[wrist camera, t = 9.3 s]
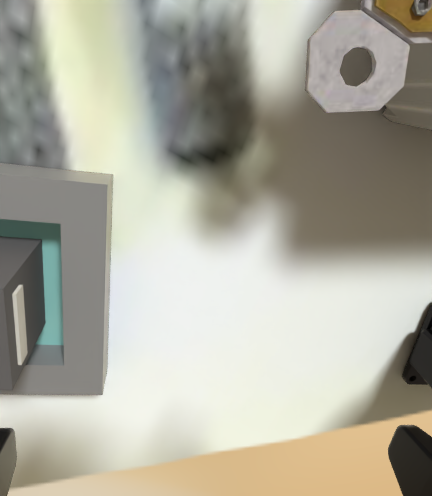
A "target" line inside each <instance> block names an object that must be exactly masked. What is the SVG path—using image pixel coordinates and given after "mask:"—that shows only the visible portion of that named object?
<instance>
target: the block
mask: <svg viewBox="0 0 432 496" xmlns="http://www.w3.org/2000/svg"><path fill="white" fill-rule="evenodd" d="M45 324H46V320H45V297H44V275H43V252H42V239H31V238H18V237H4V236H0V391H13V389H14V387H15V385H16V383H17V380H18V378H19V376H20V374H21V372H22V370H23V368H24V366H25V364H26V362H27V360H28V358H29V356H30V354H31V352H32V350H33V348H34V346H35V344H36V342H37V340H38V338H39V336H40V334H41V332H42V330H43V328H44V326H45Z"/></svg>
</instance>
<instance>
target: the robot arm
mask: <svg viewBox="0 0 432 496" xmlns="http://www.w3.org/2000/svg"><path fill="white" fill-rule="evenodd" d="M402 377H403V379H404V380H405V382H406V383H408V384H426V385H429V386H430V387H431V388H432V305H431V306H430V309H429V311H428V314H427V316H426V319H425V321H424V324H423V326H422V328H421V331H420V333H419V336H418V338H417V341H416V343H415V346H414V348H413V350H412V353H411V355H410V358H409V360H408V363H407V365H406V367H405V370H404V372H403V375H402ZM388 455H389V459H390V462H391V465H392V467H393V470H394V473H395V475H396V478H397V481H398V483H399V486H400V488H401V491H402V494H403V496H432V437H431V436H430V435H428V434H427V433H426V432H424V431H423V430H421V429H420V428H419V427H417V426H414V425H400V426H398V427H397V429H396V431H395V433H394V436H393V438H392V441H391V443H390V445H389V448H388ZM16 460H17V452H16V441H15V432H14V430H13V429H12V428H0V496H7V494H8V491H9V487H10V484H11V480H12V477H13V473H14V470H15V466H16Z"/></svg>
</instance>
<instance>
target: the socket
mask: <svg viewBox="0 0 432 496" xmlns="http://www.w3.org/2000/svg"><path fill="white" fill-rule="evenodd" d="M112 194H113V175H112V174H102V173H92V172H83V171H73V170H63V169H54V168H44V167H34V166H25V165H15V164H5V163H0V236H4V237H18V238H31V239H42V252H43V275H44V297H45V320H46V324H45V326H44V328H43V330H42V332H41V334H40V336H39V338H38V340H37V342H36V344H35V346H34V348H33V350H32V352H31V354H30V356H29V358H28V360H27V362H26V364H25V366H24V368H23V370H22V372H21V374H20V376H19V378H18V380H17V383H16V385H15V387H14V389H13V391H0V394H44V395H102V394H103V389H104V384H105V379H106V374H107V361H108V328H109V294H110V261H111V227H112Z"/></svg>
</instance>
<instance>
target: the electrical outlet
mask: <svg viewBox="0 0 432 496" xmlns="http://www.w3.org/2000/svg"><path fill="white" fill-rule="evenodd" d="M356 47H359V48H362V49H366V50H367V51H368V53H369V55H370V57H371V58H372V71H371V73H370V74H369V76H368V78H367V79H366V81H365V82H363V83H361V84H360V85H358V86H357V87H355V86H350V85H346V84H345V82H344V80H343V78H342V76H341V74H340V72H339V71H340V68H341V64H342V60H343V57H344V55H345V54H346V53H348V52H349V51H350V50H351V49H352V48H356ZM305 91H306V92H307V93H308V94H309V95H310V96H311V97H312V98H313V100H314V101H315V102H316V103H317V104H318V105H319V106H320V107H321V109H322V110H323V111H324V112H327V113H332V112H355V111H378V110H380V109H381V108H382V107H383V106H384V105H385V106H386V107H387V108H386V110H385V111H384V112H383V115H384V116H385V117H386V118H387V119H388V120H390V121H391V122H395V123H400V124H405V125H410V126H414V127H419V128H424V129H429V130H432V0H361V8H360V10H344V11H334V12H332V13H331V15H330V16H329V17H328V18H327V19H326V20H325V21H324V22H323V24H322V25H321V26H320V27H319V28H318V29H317V30H316V31H315V33H314V34H313V35H312V36H311V37H310V38H309V39H308V45H307V63H306V81H305Z"/></svg>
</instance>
